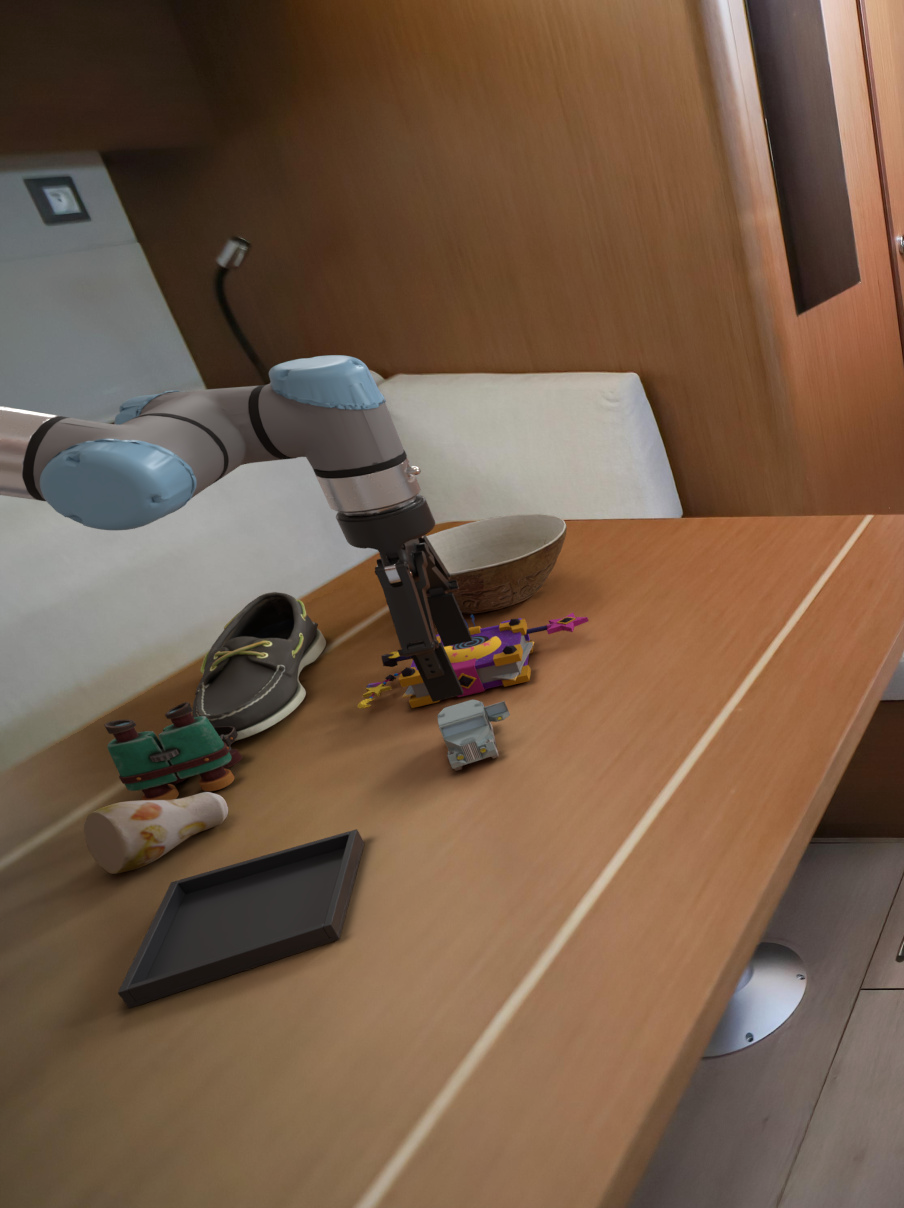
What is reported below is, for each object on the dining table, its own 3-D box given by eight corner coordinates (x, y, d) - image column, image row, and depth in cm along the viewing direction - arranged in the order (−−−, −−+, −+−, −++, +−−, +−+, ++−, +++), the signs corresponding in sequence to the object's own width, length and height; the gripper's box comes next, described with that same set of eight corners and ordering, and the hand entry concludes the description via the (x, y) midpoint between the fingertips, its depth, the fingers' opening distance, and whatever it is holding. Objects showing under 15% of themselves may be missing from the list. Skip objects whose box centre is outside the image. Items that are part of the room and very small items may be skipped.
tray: (129, 1008, 84) (117, 993, 83) (181, 896, 95) (171, 881, 94) (339, 939, 91) (331, 924, 90) (364, 842, 102) (357, 828, 101)
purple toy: (380, 671, 131) (343, 593, 126) (593, 625, 143) (568, 552, 137) (358, 726, 120) (316, 644, 114) (591, 672, 131) (563, 595, 126)
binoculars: (214, 675, 113) (199, 707, 105) (253, 751, 117) (242, 786, 109) (103, 702, 107) (80, 737, 100) (149, 781, 111) (129, 820, 104)
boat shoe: (189, 763, 113) (152, 703, 109) (221, 659, 133) (190, 605, 129) (316, 728, 120) (285, 670, 116) (328, 634, 139) (302, 581, 136)
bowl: (393, 593, 150) (367, 536, 146) (568, 550, 165) (550, 497, 160) (406, 654, 135) (378, 592, 130) (598, 600, 149) (579, 543, 145)
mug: (261, 818, 105) (179, 787, 97) (171, 898, 100) (77, 873, 92) (218, 787, 107) (133, 754, 99) (128, 864, 102) (31, 837, 94)
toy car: (456, 777, 112) (441, 744, 109) (450, 737, 118) (435, 704, 116) (522, 755, 115) (509, 722, 113) (513, 717, 122) (500, 686, 120)
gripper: (409, 536, 95) (486, 711, 104) (434, 460, 113) (498, 614, 123) (310, 554, 91) (399, 733, 101) (353, 473, 110) (425, 630, 119)
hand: (453, 668), depth 112 cm, fingers open, 13 cm apart
